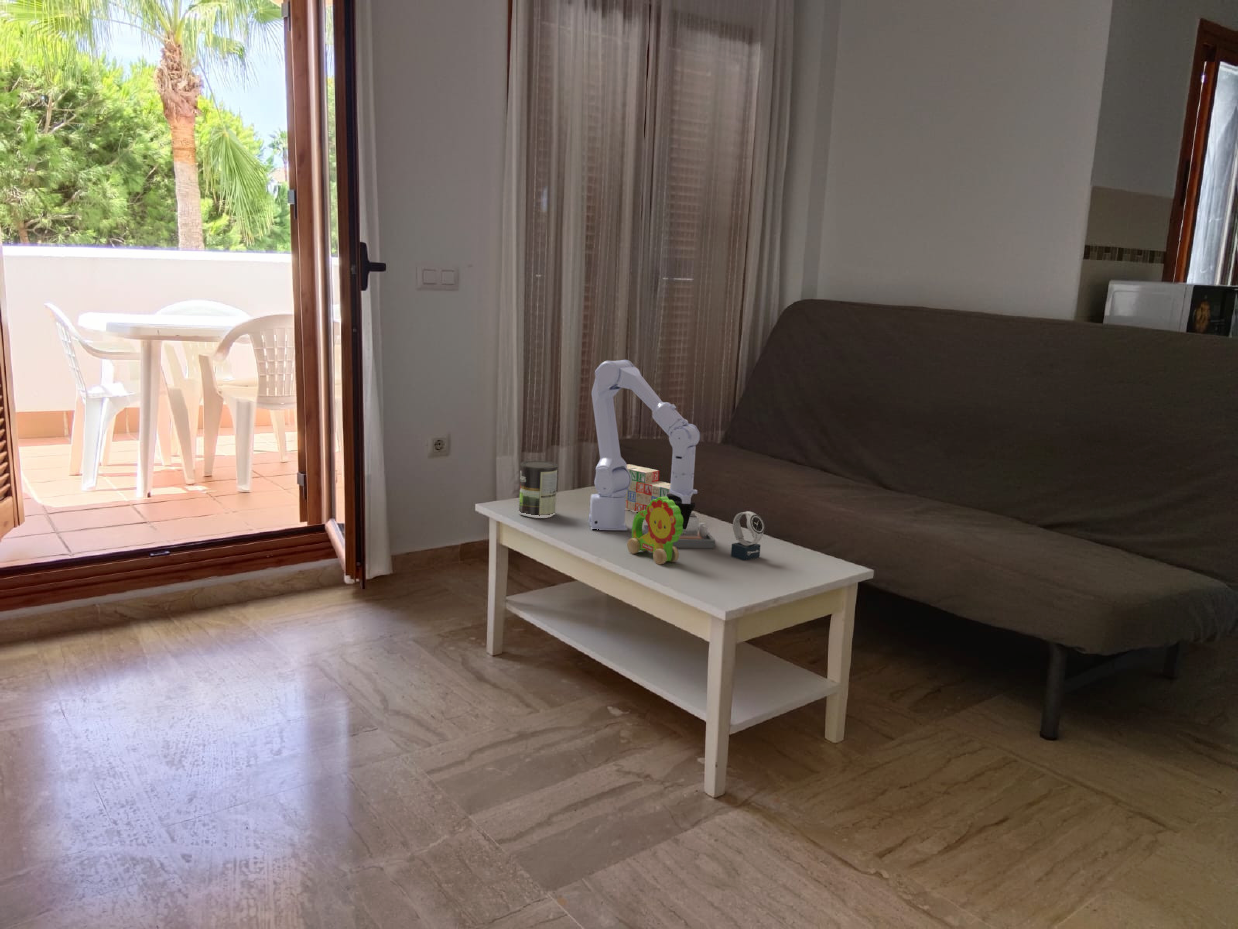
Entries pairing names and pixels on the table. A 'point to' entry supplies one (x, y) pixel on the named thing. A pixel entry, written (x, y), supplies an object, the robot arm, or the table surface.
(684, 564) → the table surface
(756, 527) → the watch
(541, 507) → the coffee can
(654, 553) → the toy lion
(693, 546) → the tray
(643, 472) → the stack of blocks
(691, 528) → the drive
